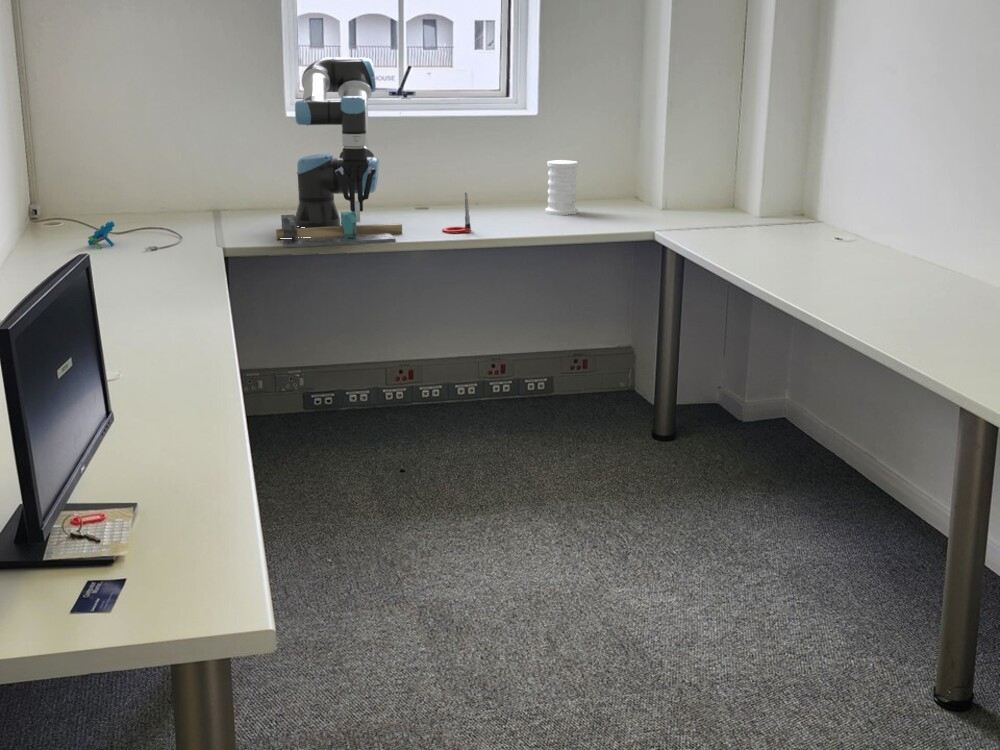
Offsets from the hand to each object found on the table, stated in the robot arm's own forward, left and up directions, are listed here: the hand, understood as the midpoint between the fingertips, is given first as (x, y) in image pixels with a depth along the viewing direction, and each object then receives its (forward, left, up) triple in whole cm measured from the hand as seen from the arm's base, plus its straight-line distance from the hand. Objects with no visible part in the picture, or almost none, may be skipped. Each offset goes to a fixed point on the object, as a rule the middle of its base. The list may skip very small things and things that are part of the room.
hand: (357, 221), depth 361 cm
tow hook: (+2, +32, -5) cm, 33 cm away
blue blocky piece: (-4, -78, -5) cm, 78 cm away
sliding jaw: (+4, -3, -3) cm, 6 cm away
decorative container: (-23, +78, -5) cm, 82 cm away
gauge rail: (+4, -6, -4) cm, 8 cm away
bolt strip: (+10, -8, -4) cm, 13 cm away
